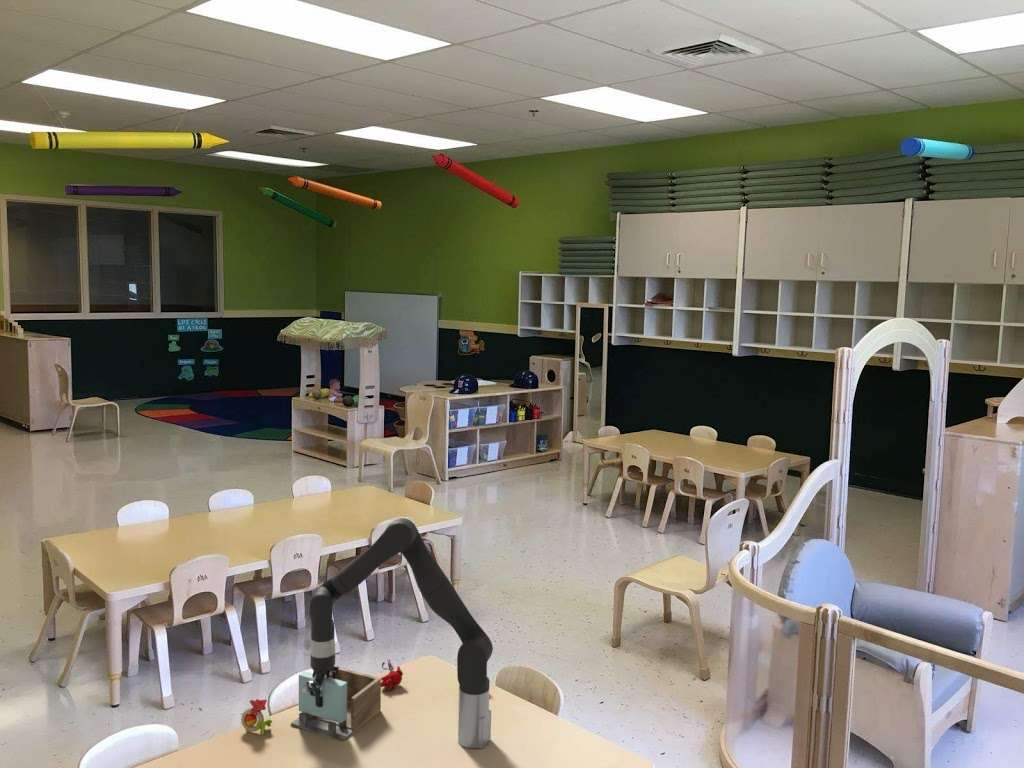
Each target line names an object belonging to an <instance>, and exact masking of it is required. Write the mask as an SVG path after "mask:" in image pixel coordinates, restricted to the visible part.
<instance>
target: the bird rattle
mask: <svg viewBox="0 0 1024 768" xmlns="http://www.w3.org/2000/svg"><path fill="white" fill-rule="evenodd" d="M249 703H250V705H251V706H252V707H249V708H246V709H245V710H244V711H243V712H242V714H241V716H240V717H241V718H240V722H241V724H242V727H243V728H244V729H245V733H250V732H252V733H253V732H257V731H259V730H260V731H259V732H260V736H262V737H263V736H264V734H265V730H266V729H265V727H266V726H267V727H269V728H270V727H272V723H273V720H271V719H267V720H265V717H264V714H263V712H262V711H265V710H266V709H267V707H266V705H267V699H255V700H254V699H250V700H249Z"/></svg>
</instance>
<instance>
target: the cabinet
mask: <svg viewBox="0 0 1024 768" xmlns="http://www.w3.org/2000/svg"><path fill="white" fill-rule="evenodd" d="M332 678H333V677H332ZM381 678H382V677H377V676H374V675H370V674H366V673H361V672H358V671H354V670H351V669H347V668H343V667H339V669H338V673H337V677H336V679H337V680H341V681H345V682H347V719H346V720H345V721H343V722H342V723H339V722H335V721H332V720H328V719H325V718H321V717H318V716H314V715H311V714H308V713H304V712H299V713H298V717H297V718H296V719H294V720H293V721H292V722H290V726H291V725H292V726H291V727H294V726H296V727H295V728H297V727H299V728H298V729H301V728H302V730H304V729H306V730H305V731H307V730H308V731H307V732H311V731H312V733H314V732H315V733H314V734H318V735H321V734H322V736H325V737H329V738H332V739H335V740H339V741H341V742H345V741H346V740H348V739H349V737H351V736H353V734H355V733H356V732H357V731H358V730H359V729H360V728H362V727H363V726H365V724H367V721H368V720H369V721H370V720H371V719H372V718H373V716H374V715H375V716H376V715H377V714H378V713H380V712H381V711H380V710H381V708H382V700H381V699H382V693H381V692H382V687H381V682H382V680H381ZM379 711H380V712H379ZM375 716H374V717H375ZM369 721H368V722H369ZM361 726H362V727H361Z"/></svg>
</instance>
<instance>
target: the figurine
mask: <svg viewBox="0 0 1024 768" xmlns="http://www.w3.org/2000/svg"><path fill="white" fill-rule="evenodd" d="M386 661H387V667H388V668H384V665H386V663H385V661H383V662H382V663H381V668H382V669H383V670H387V671H389V672H388V674H386V675H385V676H383V677H380V678H381V688H383V687H386V691H387V692H389V691H390V690H391V689H392V688H393V687H397V686H399V685H400V684H401V682H402V680H403V675H404V673H403V670H401V667H400V666H399V665H398V666H397V667H396V670H395V668H394V666H393V664H392V663H391V659H387V660H386Z"/></svg>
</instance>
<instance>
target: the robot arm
mask: <svg viewBox="0 0 1024 768" xmlns="http://www.w3.org/2000/svg"><path fill="white" fill-rule="evenodd" d="M400 553H401V555H402V556H403V557H404V559H405V560H406V561H407V563H408V566H410V569H411V572H412V574H413V577H414V581H415V583H416V585H417V588H418V590H419V592H420V593H421V596H422V597H423V599H424V600H425V602H426V603H427V605H428V606H429V607H430V610H432V612H434V613H435V614H436V615H437V616H438V617H439V618H441V619H442V620H444V621H445V622H446V623H448V625H450V626H451V628H453V629H454V631H455V633H456V634H457V636H458V637H459V639H460V641H461V645H460V646H459V649H458V651H457V658H456V660H457V661H456V666H457V667H456V671H457V672H456V673H457V681H458V684H459V685H458V723H457V724H458V727H457V729H458V733H457V736H458V737H457V740H458V742H457V743H458V744H459V745H460V746H462V747H464V748H467V749H484V747H485V746H487V744H488V743H489V741H491V739H492V738H491V737H492V710H490V678H489V676H488V661H489V660H490V658H491V656H492V655H493V651H494V646H493V643H492V641H491V639H490V637H489V636H488V635H487V633H486V632H485V631H484V629H483V628H482V627H481V626H480V624H478V622H477V621H476V619H475V618H474V617H473V616H472V613H470V611H469V609H468V608H467V606H466V604H465V603H464V601H463V600H462V599H461V597H460V595H459V594H458V592H457V590H456V589H455V587H454V585H453V584H452V582H451V581H450V580H449V578H448V576H447V575H446V573H445V572H444V571H443V569H442V568H441V567H440V565H439V564H438V562H437V561H436V559H435V558H434V557H433V555H432V554H431V553H430V551H429V550H428V548H427V546H426V544H425V542H424V539H423V538H422V535H421V534H420V532H419V530H418V528H417V526H416V525H415V523H414V522H413V521H412V520H410V519H408V518H405V517H399V518H397V519H394V520H393V521H392V522H390V523H389V524H388V525H387V527H386V528H385V529H384V531H383V532H382V534H380V536H379V537H378V538H377V540H376V541H375V542H374V543H373V544H372V545H370V547H369V548H367V549H366V550H365V551H364V552H362V553H361V554H360V555H358V556H357V557H355V558H354V559H353V560H351V561H350V562H349V563H348V564H346V565H345V566H344V567H343V568H342V569H340V570H339V571H338V572H337V573H336V574H334V575H333V576H332V577H331V578H329V579H327V580H326V581H324V582H323V583H322V584H320V585H319V586H318V587H316V589H315V590H314V591H313V594H312V595H311V597H310V599H309V609H308V611H309V617H310V618H309V619H310V623H311V626H310V627H311V628H310V637H311V638H310V645H309V646H310V649H309V651H310V657H309V658H310V660H309V661H310V663H309V664H310V665H309V666H310V668H311V669H312V671H313V672H312V673H313V675H312V677H313V678H312V679H311V681H307V683H306V684H307V687H308V689H309V692H310V695H311V696H315V702H316V703H315V705H316V706H317V707H320V708H321V707H322V706H323V696H322V695H323V689H324V682H325V681H326V679H327V678H332V677H333V679H336V677H337V673H338V669H339V668H340V667H339V666H337V665H336V639H335V622H334V621H335V620H333V609H334V605H335V603H336V602H337V601H338V600H339V599H340V598H341V597H343V596H344V595H345V596H346V595H348V594H350V593H351V592H352V591H354V590H355V589H356V588H357V587H358V586H360V585H361V584H362V583H363V582H364V581H365V580H366V579H368V578H369V577H370V576H371V574H372V573H374V572H375V571H376V570H377V569H379V567H380V566H382V565H383V564H384V563H385V562H387V561H388V560H390V559H392V557H395V556H396V555H399V554H400ZM317 684H320V685H321V686H320V685H317ZM318 689H320V692H318Z"/></svg>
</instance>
